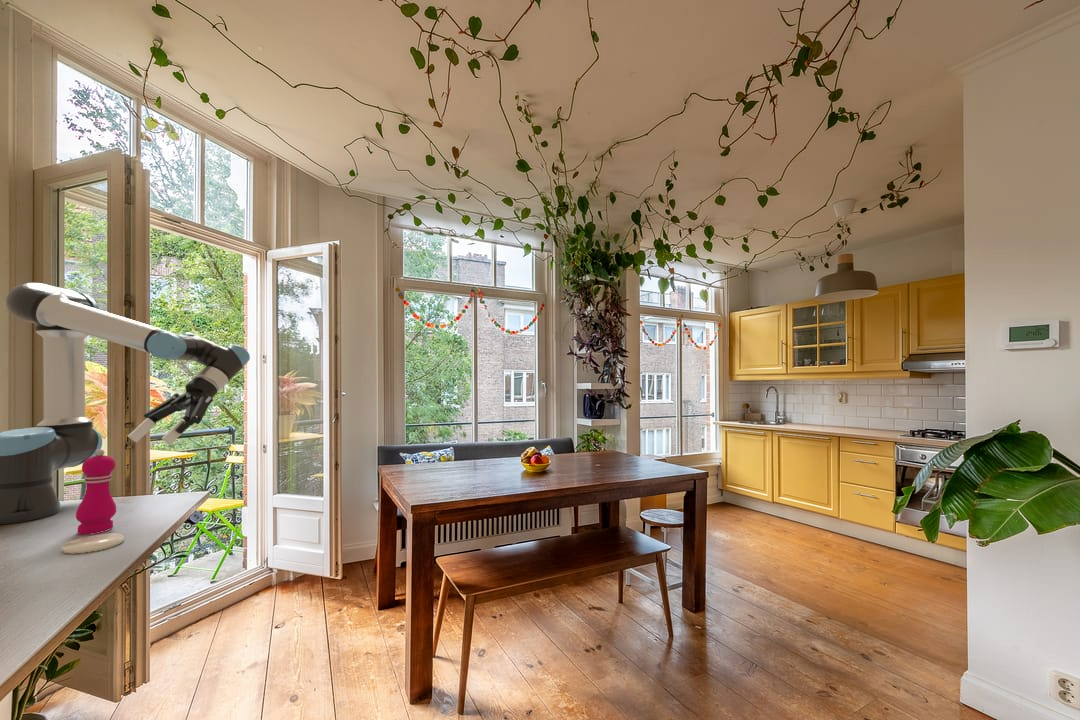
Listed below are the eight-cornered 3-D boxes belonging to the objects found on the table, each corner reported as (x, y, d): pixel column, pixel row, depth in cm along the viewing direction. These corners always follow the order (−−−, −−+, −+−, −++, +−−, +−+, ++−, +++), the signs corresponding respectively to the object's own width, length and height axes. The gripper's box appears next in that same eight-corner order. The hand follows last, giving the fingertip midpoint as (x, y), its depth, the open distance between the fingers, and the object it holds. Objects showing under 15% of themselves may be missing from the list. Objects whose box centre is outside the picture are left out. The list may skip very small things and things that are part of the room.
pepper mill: (123, 526, 116) (127, 447, 117) (92, 536, 109) (97, 451, 110) (98, 525, 117) (102, 446, 117) (66, 534, 109) (70, 451, 110)
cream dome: (88, 538, 107) (88, 534, 107) (135, 536, 108) (135, 532, 108) (48, 554, 97) (48, 549, 97) (100, 552, 98) (100, 548, 98)
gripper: (244, 393, 137) (190, 451, 122) (186, 392, 145) (129, 446, 130) (228, 376, 132) (170, 433, 117) (169, 375, 140) (107, 429, 125)
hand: (148, 440), depth 124 cm, fingers open, 13 cm apart
